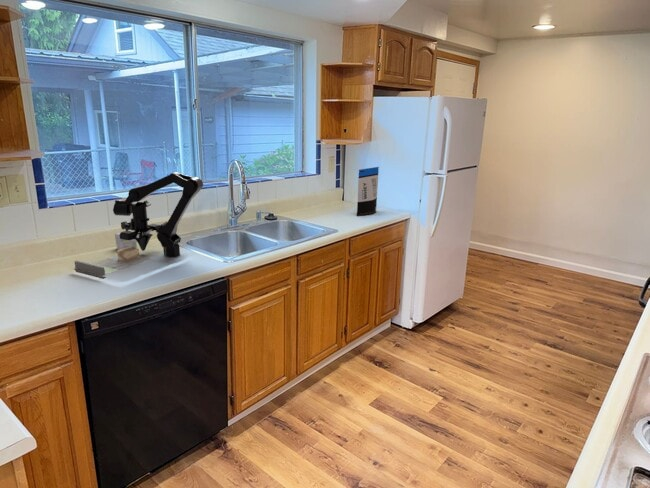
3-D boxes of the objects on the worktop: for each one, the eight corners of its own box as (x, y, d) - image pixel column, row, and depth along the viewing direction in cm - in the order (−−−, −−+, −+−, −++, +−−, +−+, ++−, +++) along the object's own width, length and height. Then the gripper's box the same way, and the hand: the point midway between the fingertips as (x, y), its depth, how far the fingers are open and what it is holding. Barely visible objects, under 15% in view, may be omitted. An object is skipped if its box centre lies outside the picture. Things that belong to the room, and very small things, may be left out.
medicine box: (122, 253, 202) (120, 235, 199) (116, 251, 204) (114, 233, 201) (137, 249, 208) (136, 231, 206) (131, 247, 210) (129, 230, 208)
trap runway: (151, 261, 192) (150, 251, 190) (103, 278, 171) (101, 267, 170) (125, 255, 198) (124, 246, 197) (75, 271, 178) (74, 261, 176)
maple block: (139, 257, 192) (138, 249, 190) (127, 261, 186) (127, 252, 185) (129, 255, 194) (128, 246, 193) (118, 259, 189) (116, 250, 188)
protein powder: (382, 211, 303) (384, 167, 295) (362, 217, 284) (365, 170, 276) (370, 209, 309) (372, 166, 300) (350, 215, 290) (352, 169, 281)
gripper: (143, 210, 204) (146, 242, 208) (108, 218, 188) (112, 253, 192) (161, 213, 199) (164, 246, 203) (127, 221, 183) (130, 257, 187)
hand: (143, 250), depth 197 cm, fingers closed
